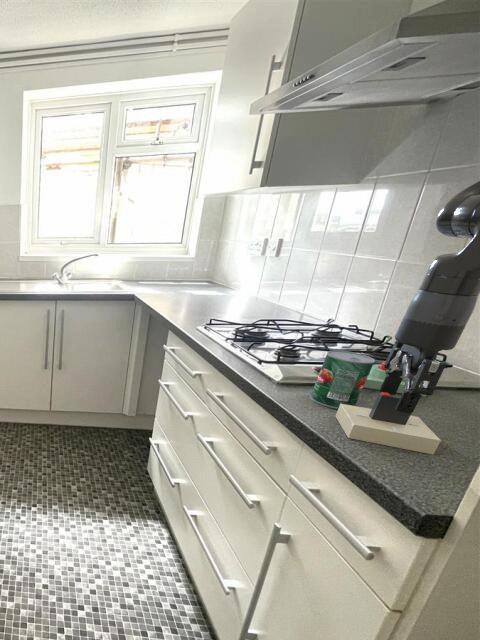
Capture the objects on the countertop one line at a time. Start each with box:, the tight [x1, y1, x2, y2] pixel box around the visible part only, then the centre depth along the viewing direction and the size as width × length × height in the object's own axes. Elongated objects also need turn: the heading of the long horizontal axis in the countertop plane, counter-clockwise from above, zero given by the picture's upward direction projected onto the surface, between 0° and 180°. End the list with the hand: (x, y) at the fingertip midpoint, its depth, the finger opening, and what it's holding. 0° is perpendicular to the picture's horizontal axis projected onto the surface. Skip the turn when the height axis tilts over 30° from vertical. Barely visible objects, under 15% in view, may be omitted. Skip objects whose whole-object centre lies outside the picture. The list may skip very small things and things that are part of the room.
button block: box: [363, 363, 427, 398], centre depth 102 cm, size 12×10×4 cm
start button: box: [380, 361, 387, 371], centre depth 101 cm, size 4×4×2 cm
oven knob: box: [369, 392, 412, 425], centre depth 78 cm, size 5×2×5 cm, turn 62°
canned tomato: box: [309, 350, 376, 410], centre depth 91 cm, size 8×8×11 cm
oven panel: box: [335, 404, 442, 456], centre depth 80 cm, size 12×10×3 cm
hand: (394, 402), depth 78 cm, fingers open, 8 cm apart
